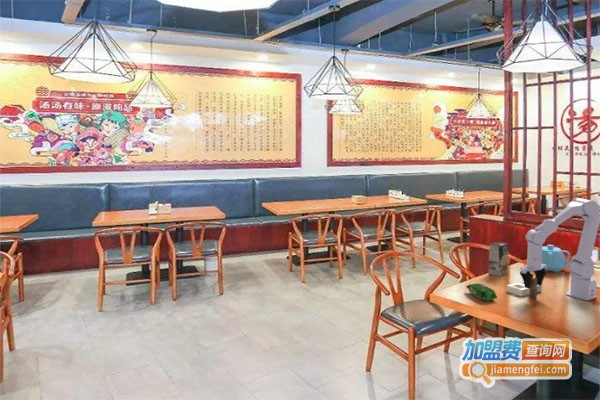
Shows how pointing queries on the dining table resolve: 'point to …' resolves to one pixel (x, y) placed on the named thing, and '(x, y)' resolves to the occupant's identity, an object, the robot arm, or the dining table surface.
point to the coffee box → (498, 258)
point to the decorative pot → (554, 258)
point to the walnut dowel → (533, 289)
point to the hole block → (520, 289)
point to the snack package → (482, 291)
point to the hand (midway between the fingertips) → (533, 286)
